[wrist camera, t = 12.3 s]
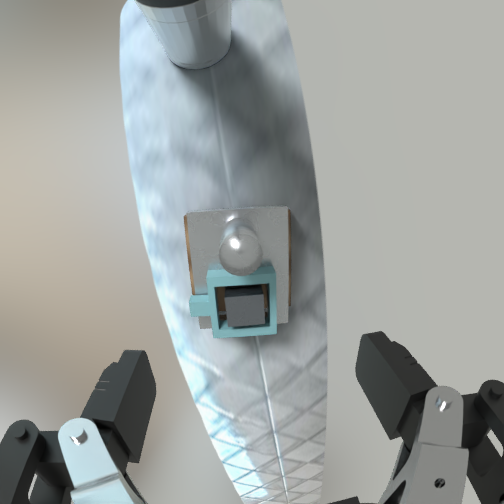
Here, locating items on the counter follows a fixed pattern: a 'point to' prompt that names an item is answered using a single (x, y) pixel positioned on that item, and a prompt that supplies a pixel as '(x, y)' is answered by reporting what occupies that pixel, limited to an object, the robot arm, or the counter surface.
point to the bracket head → (217, 278)
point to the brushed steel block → (244, 305)
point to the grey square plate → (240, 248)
